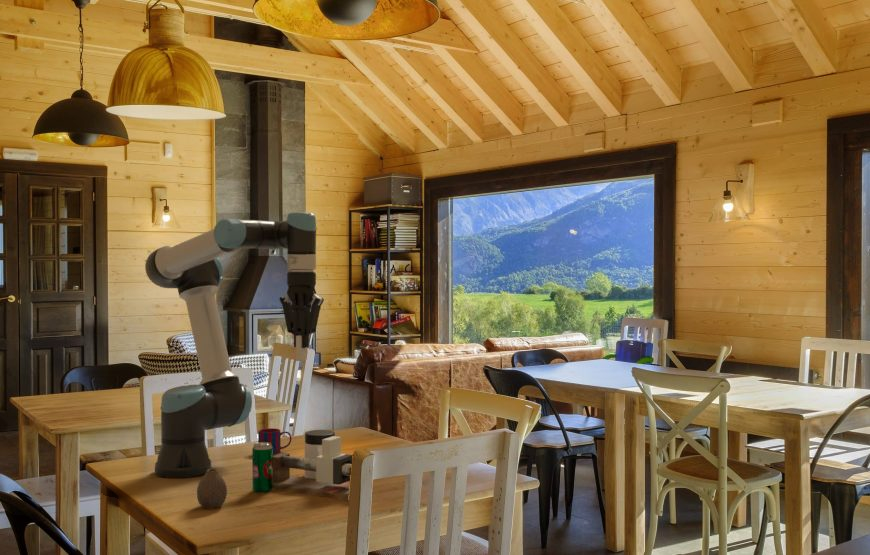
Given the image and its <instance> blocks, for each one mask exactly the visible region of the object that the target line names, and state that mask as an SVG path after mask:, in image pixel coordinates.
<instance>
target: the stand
mask: <svg viewBox="0 0 870 555" xmlns="http://www.w3.org/2000/svg"><path fill="white" fill-rule="evenodd" d="M283 456H291V454H290V453H287V452H286V453H285V452H282V453H278V454H275V455H273V489H272V490H279V491H286V492H292V493H297V494H298V493H300V494H304V495H305V494H306V495H312V496H319V497H325V498H332V499H338V500H339V499H340V500H346V501H349V500H348V495H349V483H350V482H345V483H343V484H340V485H338V484H331V483H324V482H317V481H316V479H312V478H305V476H297V475H296V476H295V475H291V472H290V470H291V468H285V467H282V466H281V464H280V461H281V458H282V457H283ZM350 475H351V467H350Z"/></svg>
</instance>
